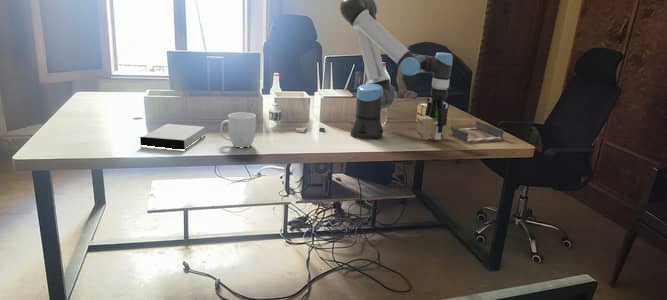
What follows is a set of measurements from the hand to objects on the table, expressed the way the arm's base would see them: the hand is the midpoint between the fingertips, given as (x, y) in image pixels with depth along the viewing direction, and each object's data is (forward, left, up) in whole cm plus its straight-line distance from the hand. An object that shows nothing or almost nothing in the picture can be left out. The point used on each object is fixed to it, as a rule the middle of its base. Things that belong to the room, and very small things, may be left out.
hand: (432, 136), depth 212 cm
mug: (-88, +12, -1) cm, 89 cm away
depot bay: (+22, 0, -1) cm, 22 cm away
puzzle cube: (+16, +27, -2) cm, 31 cm away
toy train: (0, 0, -1) cm, 1 cm away
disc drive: (-112, +23, -2) cm, 114 cm away
